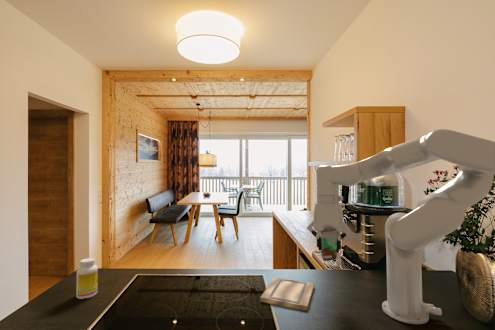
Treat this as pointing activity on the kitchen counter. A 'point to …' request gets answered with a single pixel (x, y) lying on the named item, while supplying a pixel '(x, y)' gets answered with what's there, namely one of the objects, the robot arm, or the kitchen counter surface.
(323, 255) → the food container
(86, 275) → the supplement bottle
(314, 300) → the kitchen counter surface
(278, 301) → the base board
